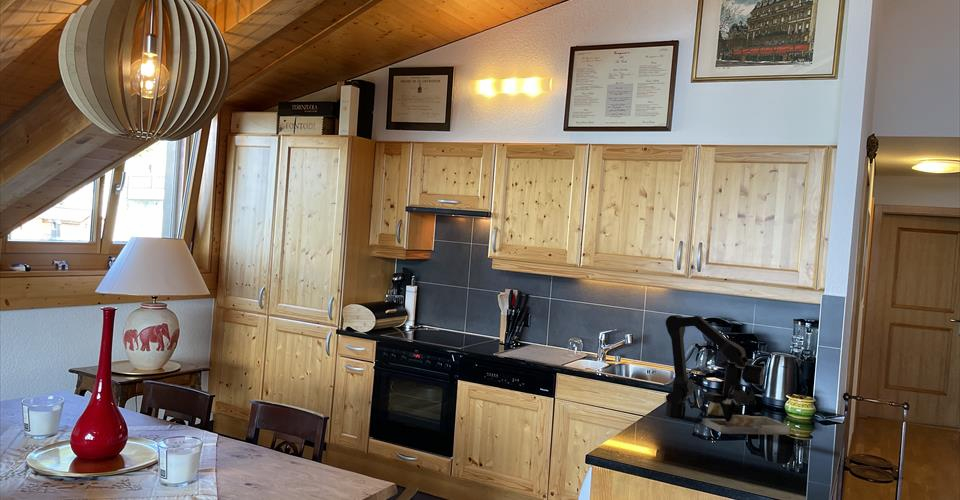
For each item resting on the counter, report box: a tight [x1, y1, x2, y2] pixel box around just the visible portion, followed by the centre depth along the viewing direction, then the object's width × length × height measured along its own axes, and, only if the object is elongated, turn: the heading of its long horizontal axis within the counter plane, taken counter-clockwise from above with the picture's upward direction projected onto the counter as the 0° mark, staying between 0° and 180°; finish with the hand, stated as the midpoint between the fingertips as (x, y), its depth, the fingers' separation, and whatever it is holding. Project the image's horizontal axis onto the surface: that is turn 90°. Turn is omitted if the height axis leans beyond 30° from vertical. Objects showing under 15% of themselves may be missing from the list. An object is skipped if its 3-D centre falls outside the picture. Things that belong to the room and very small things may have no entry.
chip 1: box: [726, 414, 745, 426], centre depth 280 cm, size 4×4×4 cm
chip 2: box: [737, 414, 755, 426], centre depth 282 cm, size 4×4×4 cm
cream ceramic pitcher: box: [707, 401, 725, 417], centre depth 302 cm, size 8×10×10 cm
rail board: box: [700, 415, 792, 436], centre depth 282 cm, size 30×14×4 cm, turn 109°
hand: (727, 421), depth 279 cm, fingers closed
